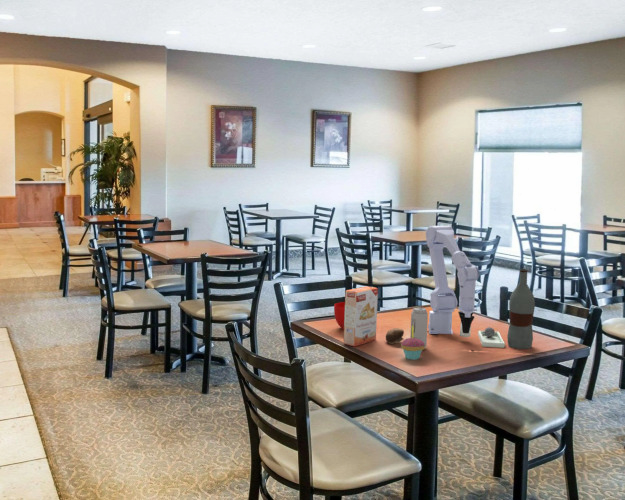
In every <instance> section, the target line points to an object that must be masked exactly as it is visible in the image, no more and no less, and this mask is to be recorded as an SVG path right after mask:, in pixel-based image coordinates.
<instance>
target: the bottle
mask: <svg viewBox="0 0 625 500" xmlns="http://www.w3.org/2000/svg"><path fill="white" fill-rule="evenodd" d="M519 270H520V271H519V283H518V284H517V286H516V287H515V288H514V290H513V291H512V292H511V294H510V296H509V303H508V307H509V326H508V328H507V329H508V330H507V346H508V347H509V348H512V349H513V348H514V349H517V350H529V349H531V348H532V346H533V341H534V336H533V335H534V334H533V332H534V331H533V321H534V313H535V308H536V307H535V306H536V303H535V301H536V300H535V296H534V293H533V292H532V290H531V288H530V287H529V284H528V271H529V270H528V269H527V268H520V269H519Z"/></svg>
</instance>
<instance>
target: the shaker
mask: <svg viewBox="0 0 625 500" xmlns="http://www.w3.org/2000/svg"><path fill="white" fill-rule="evenodd" d="M459 327H460V328H459V336H460V337H463V338H470V337H471V332H472V331H471V329H472V325H471V326H470V330H469V333H463V330H462V322H461V321H460V325H459Z"/></svg>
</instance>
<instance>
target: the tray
mask: <svg viewBox="0 0 625 500" xmlns="http://www.w3.org/2000/svg"><path fill="white" fill-rule="evenodd" d="M484 331H485V330H478V331H477V336H478V338H479V341H480V344H481V346H482V347H483V348H485V347H486V348H487V347H488V348H502V349H503V348H505V345H506V343H505V341H504V340H503V336H501V334H500V331H495V334H494V336H493V337H487V336H486V335H485V333H484Z"/></svg>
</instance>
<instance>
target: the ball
mask: <svg viewBox="0 0 625 500" xmlns="http://www.w3.org/2000/svg"><path fill="white" fill-rule="evenodd" d="M483 331H484V333H485V335H486V336H487V337H493V336H494V334H495V332H496V331H495V329H494V328H493V327H490V326H489V327H488V326H487V327H486V328H485V329H484V330H483Z"/></svg>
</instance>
